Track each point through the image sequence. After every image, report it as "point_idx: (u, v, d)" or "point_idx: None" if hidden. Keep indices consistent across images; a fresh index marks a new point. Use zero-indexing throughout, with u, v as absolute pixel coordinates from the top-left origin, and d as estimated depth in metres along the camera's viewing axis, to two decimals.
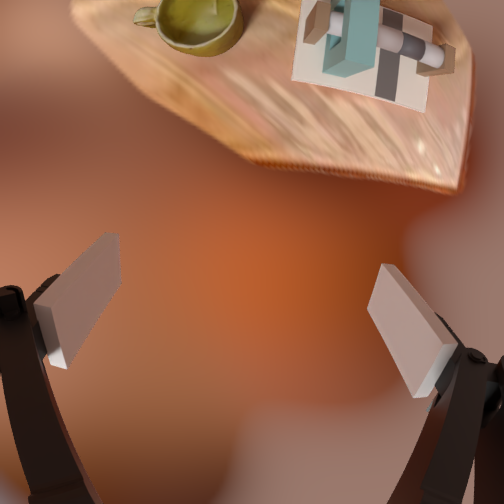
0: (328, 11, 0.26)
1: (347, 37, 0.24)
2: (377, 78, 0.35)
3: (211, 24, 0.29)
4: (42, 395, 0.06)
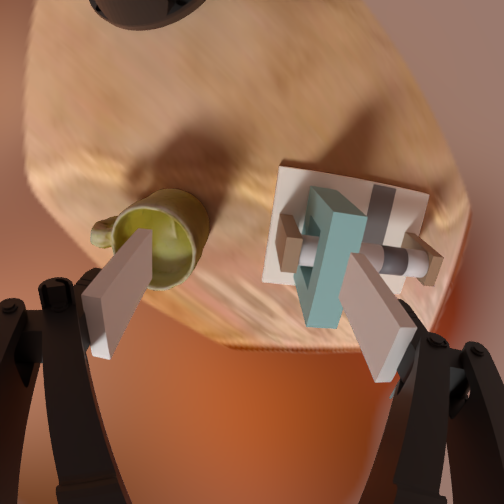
0: (298, 249, 0.30)
1: (312, 303, 0.28)
2: None
3: (172, 248, 0.33)
4: (83, 389, 0.06)
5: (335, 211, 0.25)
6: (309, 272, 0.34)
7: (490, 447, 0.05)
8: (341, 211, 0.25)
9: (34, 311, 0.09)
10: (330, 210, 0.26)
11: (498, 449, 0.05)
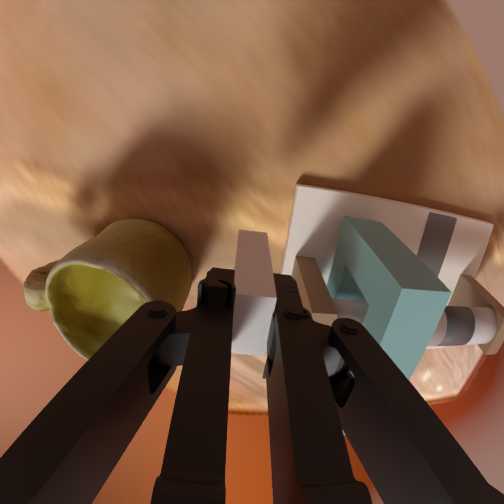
0: None
1: None
2: None
3: None
4: (221, 392, 0.07)
5: (404, 286, 0.13)
6: None
7: (400, 438, 0.06)
8: (412, 284, 0.13)
9: (178, 312, 0.11)
10: (394, 282, 0.14)
11: (412, 440, 0.06)
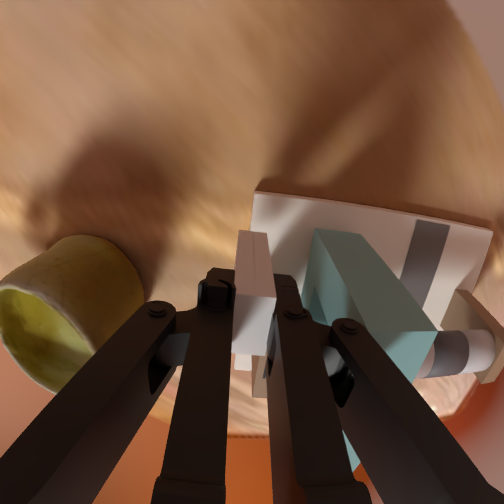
0: None
1: None
2: None
3: (80, 339, 0.18)
4: (221, 392, 0.07)
5: (372, 328, 0.10)
6: None
7: (401, 438, 0.06)
8: (384, 322, 0.10)
9: (178, 313, 0.11)
10: (360, 320, 0.11)
11: (412, 440, 0.06)
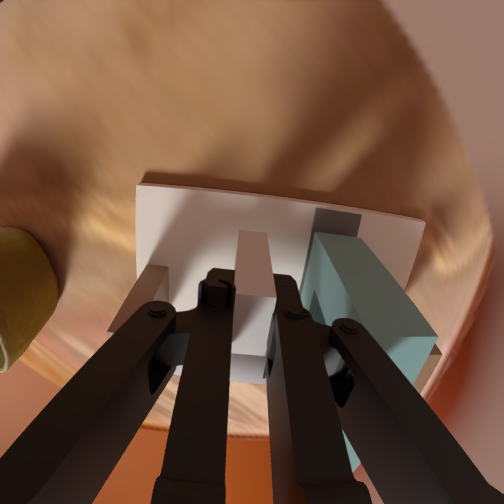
0: None
1: None
2: None
3: None
4: (220, 392, 0.07)
5: (373, 333, 0.10)
6: None
7: (400, 438, 0.06)
8: (385, 328, 0.10)
9: (178, 313, 0.11)
10: None
11: (412, 440, 0.06)
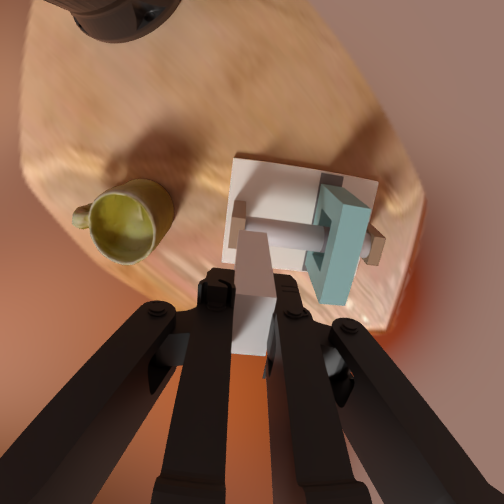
0: (242, 228, 0.34)
1: (324, 283, 0.33)
2: (306, 253, 0.43)
3: (139, 229, 0.37)
4: (221, 392, 0.07)
5: (345, 204, 0.30)
6: (320, 258, 0.39)
7: (401, 438, 0.06)
8: (349, 204, 0.30)
9: (178, 313, 0.11)
10: (340, 203, 0.30)
11: (412, 440, 0.06)
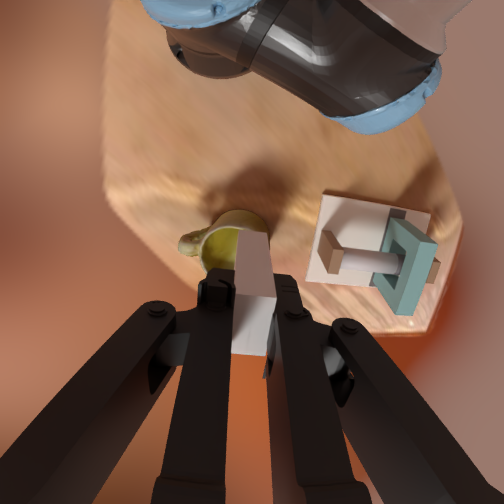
0: (341, 257, 0.41)
1: (400, 299, 0.40)
2: (373, 272, 0.50)
3: None
4: (220, 392, 0.07)
5: (421, 241, 0.37)
6: (389, 278, 0.46)
7: (401, 438, 0.06)
8: (423, 240, 0.37)
9: (178, 313, 0.11)
10: (417, 240, 0.37)
11: (412, 440, 0.06)
